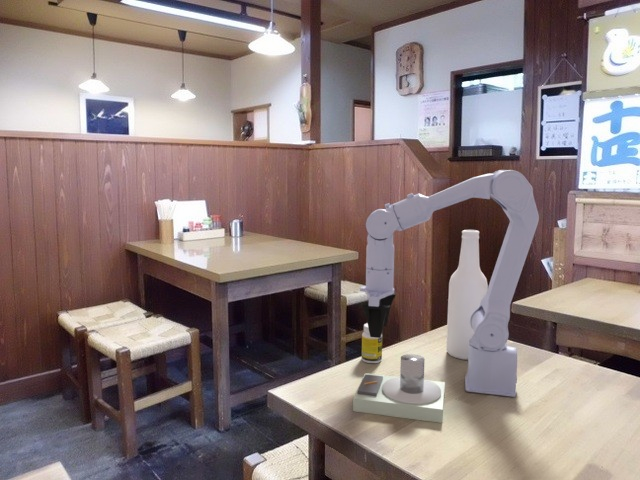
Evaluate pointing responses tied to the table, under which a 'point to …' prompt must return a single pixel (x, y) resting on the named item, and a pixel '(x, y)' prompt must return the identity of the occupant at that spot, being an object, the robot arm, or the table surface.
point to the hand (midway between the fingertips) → (378, 331)
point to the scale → (399, 399)
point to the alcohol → (464, 296)
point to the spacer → (412, 374)
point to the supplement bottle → (371, 347)
